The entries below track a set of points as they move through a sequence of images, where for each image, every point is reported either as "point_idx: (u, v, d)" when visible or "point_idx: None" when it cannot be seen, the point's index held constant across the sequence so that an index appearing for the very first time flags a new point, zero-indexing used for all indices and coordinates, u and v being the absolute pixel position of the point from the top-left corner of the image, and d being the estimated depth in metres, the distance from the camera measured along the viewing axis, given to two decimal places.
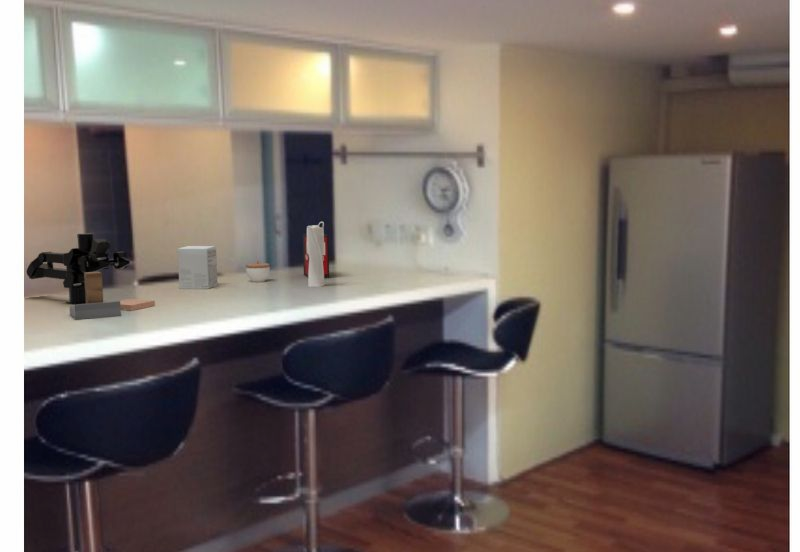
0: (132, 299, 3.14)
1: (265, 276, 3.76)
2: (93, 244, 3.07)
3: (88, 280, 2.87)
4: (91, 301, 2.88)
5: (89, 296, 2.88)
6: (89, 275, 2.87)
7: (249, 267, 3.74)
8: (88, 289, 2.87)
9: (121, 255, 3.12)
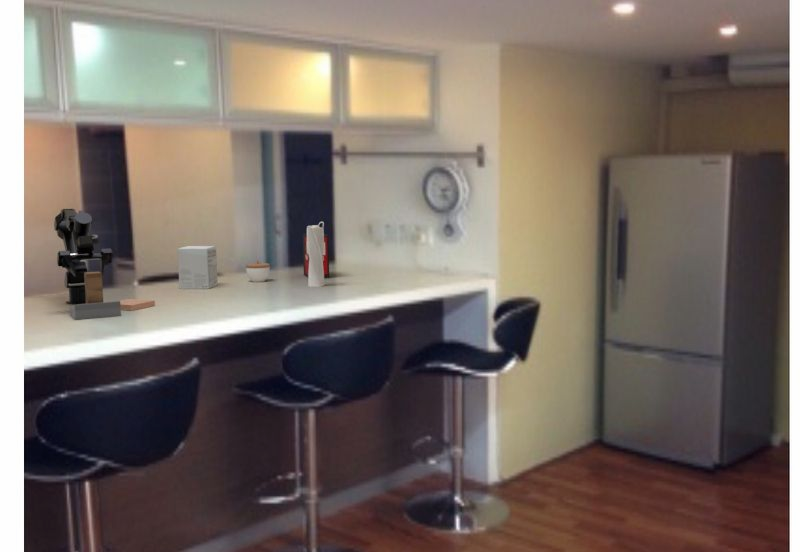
0: (132, 299, 3.14)
1: (265, 276, 3.76)
2: (78, 240, 2.96)
3: (88, 280, 2.87)
4: (91, 301, 2.88)
5: (89, 296, 2.88)
6: (89, 275, 2.87)
7: (249, 267, 3.74)
8: (88, 289, 2.87)
9: (104, 257, 3.01)
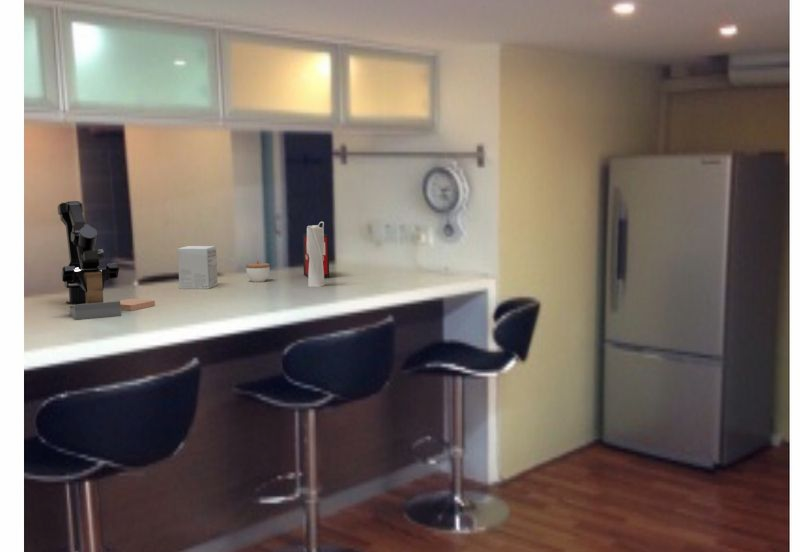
0: (132, 299, 3.14)
1: (265, 276, 3.76)
2: (83, 255, 2.89)
3: (88, 280, 2.87)
4: (91, 301, 2.88)
5: (89, 296, 2.88)
6: (89, 275, 2.87)
7: (249, 267, 3.74)
8: (88, 289, 2.87)
9: (104, 273, 2.93)
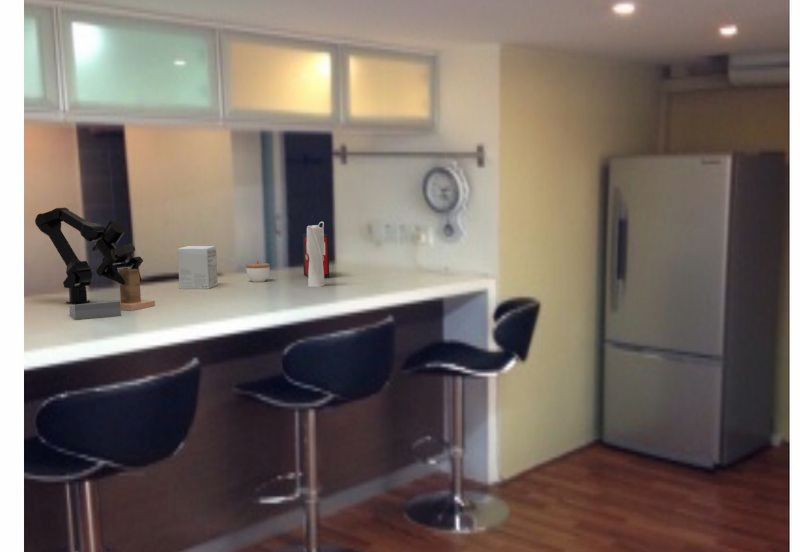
0: None
1: (265, 276, 3.76)
2: (119, 249, 3.04)
3: (130, 276, 3.04)
4: (132, 296, 3.05)
5: (131, 292, 3.04)
6: (131, 272, 3.04)
7: (249, 267, 3.74)
8: (130, 285, 3.04)
9: (137, 265, 3.12)
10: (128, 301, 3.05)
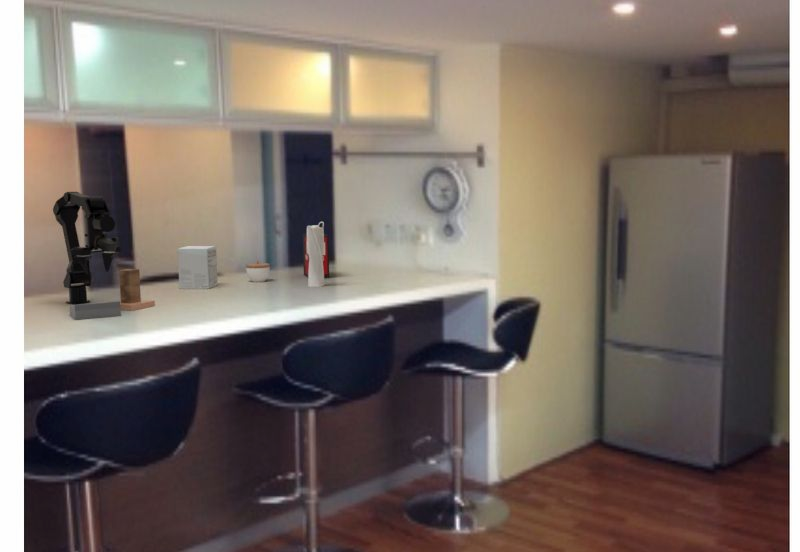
0: None
1: (265, 276, 3.76)
2: (104, 244, 2.99)
3: (130, 276, 3.04)
4: (132, 296, 3.05)
5: (131, 292, 3.04)
6: (131, 272, 3.04)
7: (249, 267, 3.74)
8: (130, 285, 3.04)
9: (113, 256, 3.09)
10: (128, 301, 3.05)
